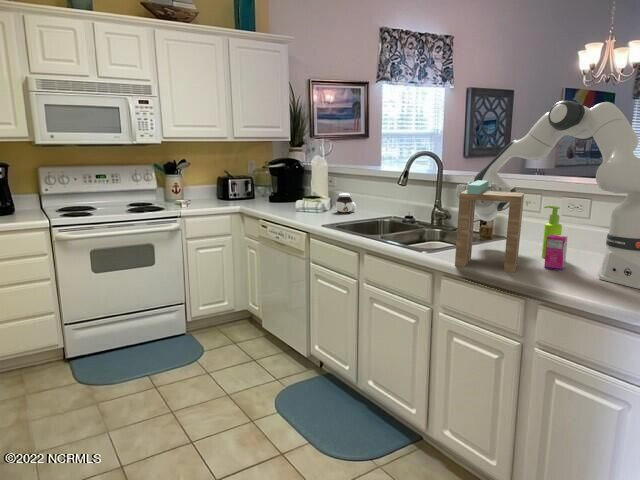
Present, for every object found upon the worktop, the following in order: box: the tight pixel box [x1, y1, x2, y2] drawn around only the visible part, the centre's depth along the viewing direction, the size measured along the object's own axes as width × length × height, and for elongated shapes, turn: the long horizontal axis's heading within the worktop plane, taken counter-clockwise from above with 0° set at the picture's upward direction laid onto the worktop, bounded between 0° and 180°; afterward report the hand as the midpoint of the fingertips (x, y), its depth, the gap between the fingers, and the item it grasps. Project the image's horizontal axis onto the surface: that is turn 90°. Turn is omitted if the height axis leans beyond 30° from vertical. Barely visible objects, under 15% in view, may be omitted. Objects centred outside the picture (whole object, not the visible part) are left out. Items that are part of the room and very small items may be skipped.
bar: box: [467, 180, 489, 194], centre depth 178 cm, size 24×4×3 cm, turn 154°
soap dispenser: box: [541, 205, 563, 260], centre depth 187 cm, size 6×7×20 cm
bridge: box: [454, 190, 525, 273], centre depth 174 cm, size 14×20×26 cm
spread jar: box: [335, 192, 357, 215], centre depth 301 cm, size 12×11×12 cm
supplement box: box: [543, 235, 568, 271], centre depth 172 cm, size 6×6×12 cm
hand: (481, 184), depth 184 cm, fingers open, 7 cm apart
